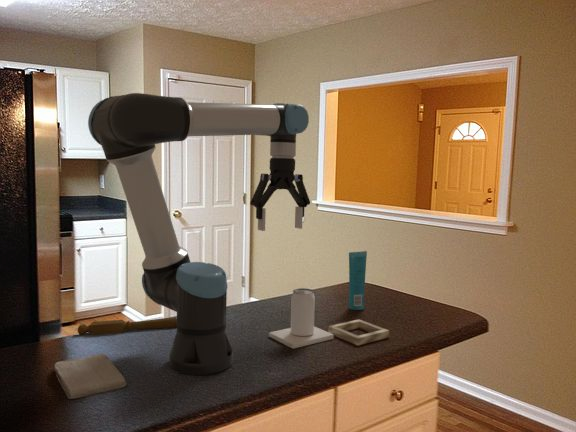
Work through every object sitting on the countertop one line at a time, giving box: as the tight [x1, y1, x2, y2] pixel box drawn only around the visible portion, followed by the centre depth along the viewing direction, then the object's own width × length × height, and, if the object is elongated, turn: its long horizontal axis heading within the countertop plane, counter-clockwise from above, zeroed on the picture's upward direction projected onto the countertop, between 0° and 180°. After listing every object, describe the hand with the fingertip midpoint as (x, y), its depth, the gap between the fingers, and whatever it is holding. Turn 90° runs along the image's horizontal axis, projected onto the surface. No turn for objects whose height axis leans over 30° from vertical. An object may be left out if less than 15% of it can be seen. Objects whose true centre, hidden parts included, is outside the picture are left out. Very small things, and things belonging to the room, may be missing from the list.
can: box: [290, 287, 316, 337], centre depth 143 cm, size 6×6×12 cm
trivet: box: [268, 325, 335, 349], centre depth 144 cm, size 14×11×1 cm
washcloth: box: [54, 353, 127, 400], centre depth 115 cm, size 12×18×3 cm, turn 35°
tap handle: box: [77, 316, 177, 336], centre depth 147 cm, size 3×3×30 cm
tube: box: [348, 250, 368, 311], centre depth 172 cm, size 7×5×19 cm, turn 127°
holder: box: [327, 319, 390, 347], centre depth 147 cm, size 12×12×2 cm
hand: (280, 229), depth 155 cm, fingers open, 13 cm apart
